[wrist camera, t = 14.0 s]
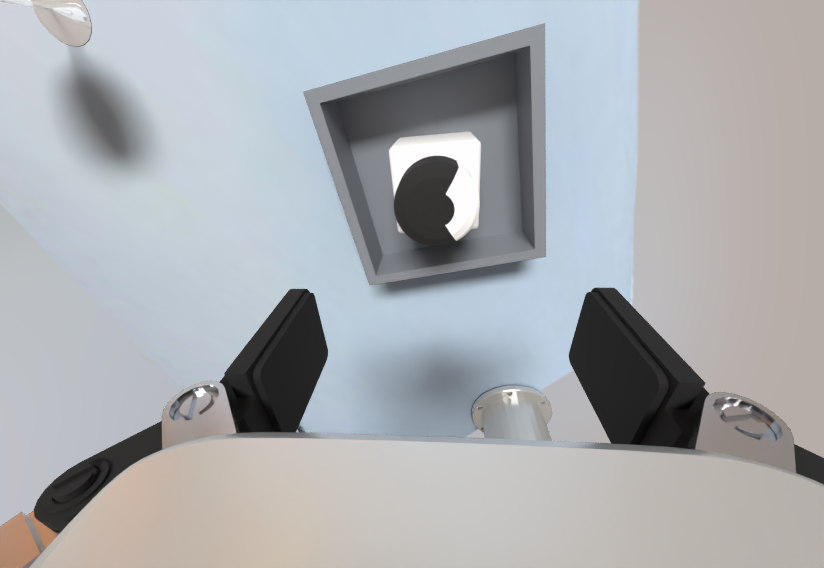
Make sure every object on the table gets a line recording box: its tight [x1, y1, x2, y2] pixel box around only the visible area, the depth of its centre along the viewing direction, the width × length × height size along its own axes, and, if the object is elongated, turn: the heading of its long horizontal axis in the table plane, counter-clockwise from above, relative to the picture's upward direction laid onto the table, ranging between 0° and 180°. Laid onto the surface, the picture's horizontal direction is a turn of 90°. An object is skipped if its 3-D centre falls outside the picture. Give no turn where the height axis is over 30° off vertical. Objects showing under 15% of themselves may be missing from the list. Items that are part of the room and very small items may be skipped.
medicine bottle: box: [389, 132, 481, 246], centre depth 26 cm, size 7×7×12 cm
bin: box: [303, 23, 546, 285], centre depth 29 cm, size 18×18×6 cm
